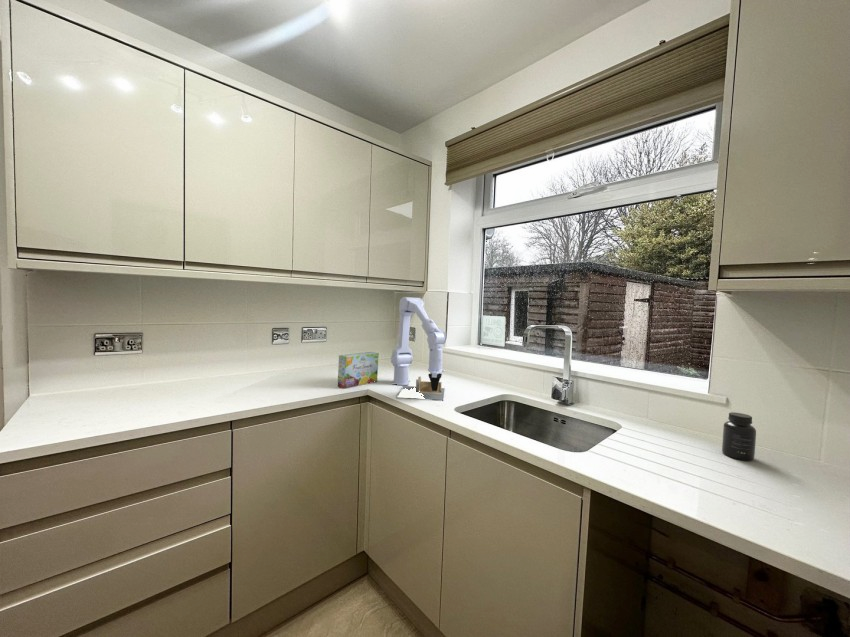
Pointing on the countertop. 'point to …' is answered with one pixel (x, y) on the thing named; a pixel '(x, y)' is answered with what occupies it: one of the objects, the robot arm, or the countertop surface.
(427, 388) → the hinged fence section
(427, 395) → the board
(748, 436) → the supplement bottle
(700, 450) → the countertop surface
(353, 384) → the snack box
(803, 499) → the countertop surface
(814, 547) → the countertop surface
